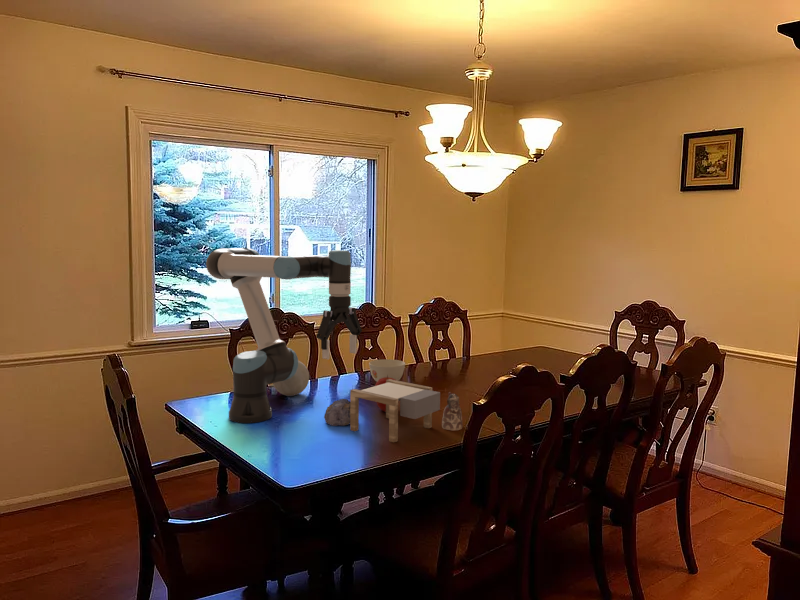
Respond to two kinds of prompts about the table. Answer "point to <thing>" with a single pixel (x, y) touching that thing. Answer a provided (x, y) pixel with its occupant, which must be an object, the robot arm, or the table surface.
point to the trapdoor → (410, 399)
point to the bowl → (386, 369)
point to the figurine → (452, 414)
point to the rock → (338, 413)
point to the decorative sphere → (294, 382)
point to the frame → (390, 408)
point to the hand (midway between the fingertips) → (339, 355)
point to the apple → (379, 382)
